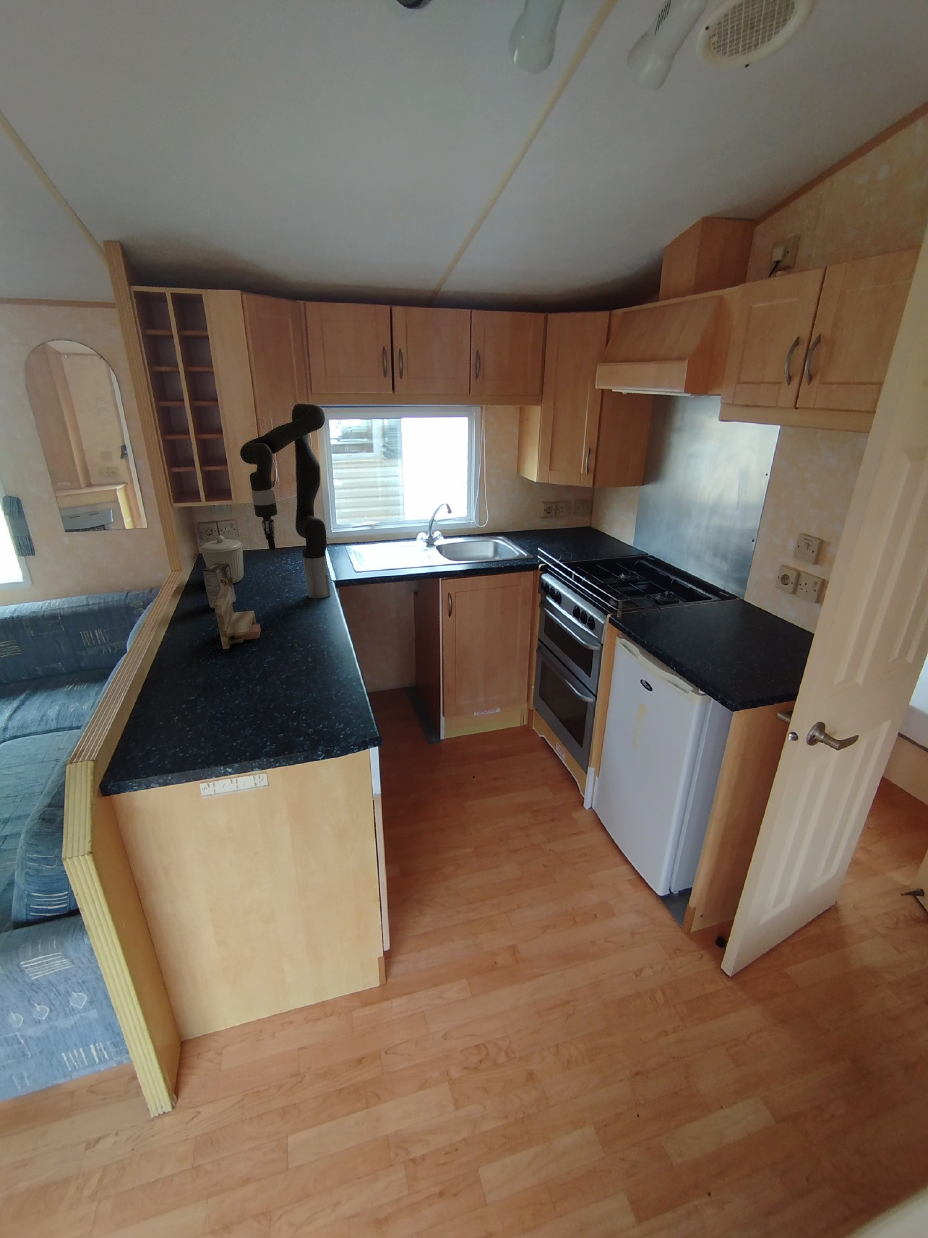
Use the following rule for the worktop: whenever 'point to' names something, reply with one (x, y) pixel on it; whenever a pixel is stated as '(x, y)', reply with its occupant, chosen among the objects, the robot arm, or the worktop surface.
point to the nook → (231, 619)
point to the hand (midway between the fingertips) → (272, 549)
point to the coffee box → (218, 581)
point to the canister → (225, 555)
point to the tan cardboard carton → (251, 633)
